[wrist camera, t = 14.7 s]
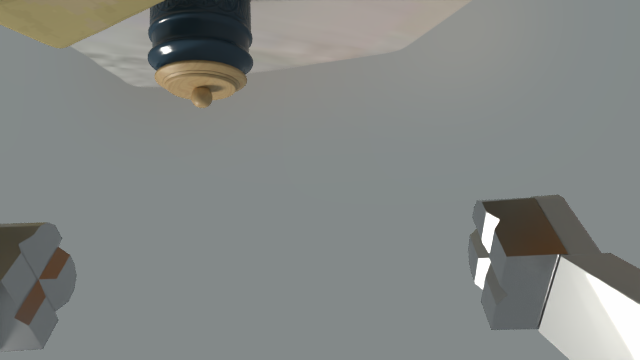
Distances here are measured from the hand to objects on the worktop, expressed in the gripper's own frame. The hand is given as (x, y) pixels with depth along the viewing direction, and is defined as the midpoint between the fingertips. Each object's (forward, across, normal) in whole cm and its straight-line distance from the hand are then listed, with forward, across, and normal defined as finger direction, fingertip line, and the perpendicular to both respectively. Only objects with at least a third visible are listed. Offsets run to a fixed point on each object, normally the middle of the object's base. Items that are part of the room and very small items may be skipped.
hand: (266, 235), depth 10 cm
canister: (+61, -15, -8) cm, 64 cm away
